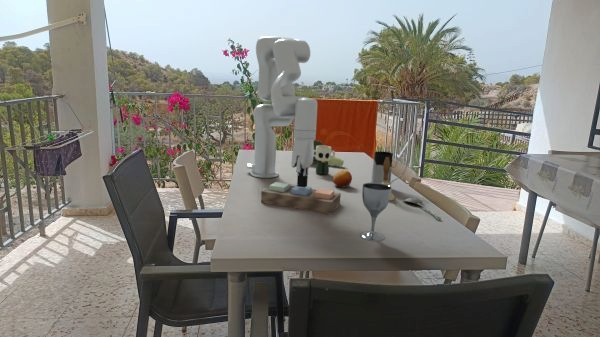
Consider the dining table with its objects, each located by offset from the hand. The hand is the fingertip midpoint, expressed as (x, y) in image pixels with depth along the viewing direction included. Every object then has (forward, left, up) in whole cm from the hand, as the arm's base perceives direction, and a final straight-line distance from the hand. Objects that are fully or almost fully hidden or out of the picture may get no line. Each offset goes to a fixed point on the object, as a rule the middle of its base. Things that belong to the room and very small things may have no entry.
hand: (302, 186), depth 141 cm
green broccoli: (-15, +70, -7) cm, 71 cm away
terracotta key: (+8, 0, -4) cm, 9 cm away
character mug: (-7, +48, -7) cm, 49 cm away
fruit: (+7, +31, -7) cm, 33 cm away
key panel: (0, 0, -6) cm, 6 cm away
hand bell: (+26, +23, -7) cm, 35 cm away
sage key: (-9, 0, -4) cm, 9 cm away
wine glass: (+29, -19, -7) cm, 35 cm away
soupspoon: (+41, +15, -7) cm, 44 cm away
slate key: (0, 0, -4) cm, 4 cm away
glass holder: (+25, +37, -7) cm, 45 cm away
